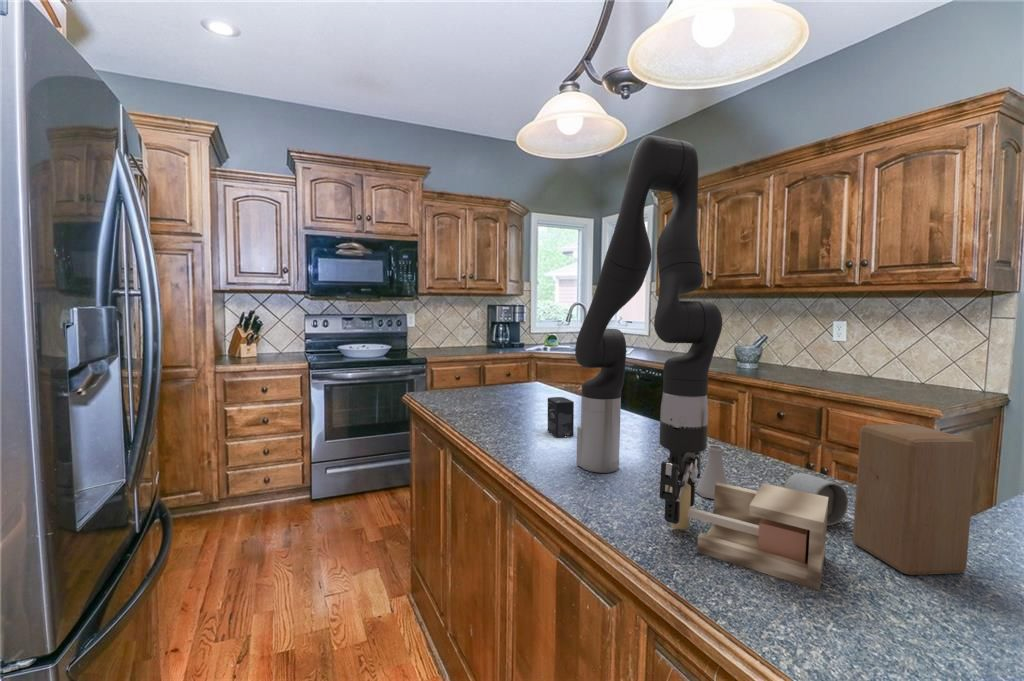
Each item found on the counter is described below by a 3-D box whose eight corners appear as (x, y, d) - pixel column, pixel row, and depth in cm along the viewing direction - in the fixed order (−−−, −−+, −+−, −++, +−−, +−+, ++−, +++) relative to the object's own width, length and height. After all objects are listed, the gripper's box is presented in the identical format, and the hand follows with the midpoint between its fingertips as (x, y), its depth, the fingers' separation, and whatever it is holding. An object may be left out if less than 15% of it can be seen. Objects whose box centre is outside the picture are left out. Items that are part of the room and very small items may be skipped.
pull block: (664, 528, 78) (665, 488, 78) (675, 516, 83) (677, 478, 83) (804, 570, 66) (807, 522, 66) (808, 553, 71) (811, 508, 71)
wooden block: (849, 543, 76) (857, 423, 75) (905, 541, 77) (914, 422, 76) (905, 578, 66) (916, 440, 65) (969, 575, 67) (980, 440, 66)
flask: (737, 503, 92) (739, 453, 91) (698, 499, 93) (700, 450, 93) (727, 489, 99) (730, 443, 98) (692, 486, 101) (693, 440, 100)
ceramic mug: (809, 505, 91) (811, 466, 91) (848, 523, 83) (850, 482, 83) (763, 510, 89) (765, 471, 88) (798, 530, 81) (800, 487, 80)
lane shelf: (697, 552, 73) (699, 493, 72) (715, 526, 82) (717, 473, 81) (819, 590, 63) (823, 522, 62) (824, 557, 72) (828, 497, 71)
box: (573, 437, 138) (574, 401, 137) (556, 438, 136) (556, 402, 136) (563, 430, 146) (564, 396, 145) (546, 431, 144) (547, 396, 143)
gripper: (674, 409, 86) (671, 494, 88) (646, 424, 75) (643, 521, 76) (717, 415, 82) (713, 505, 83) (694, 432, 71) (690, 535, 72)
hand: (679, 513), depth 80 cm, fingers open, 8 cm apart
